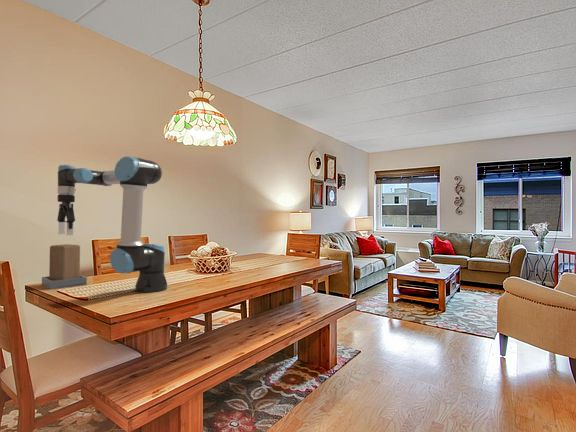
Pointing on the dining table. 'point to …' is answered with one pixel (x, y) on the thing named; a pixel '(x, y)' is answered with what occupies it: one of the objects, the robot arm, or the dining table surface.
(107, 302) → the dining table surface
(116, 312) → the dining table surface
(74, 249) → the wooden block
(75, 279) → the tray
